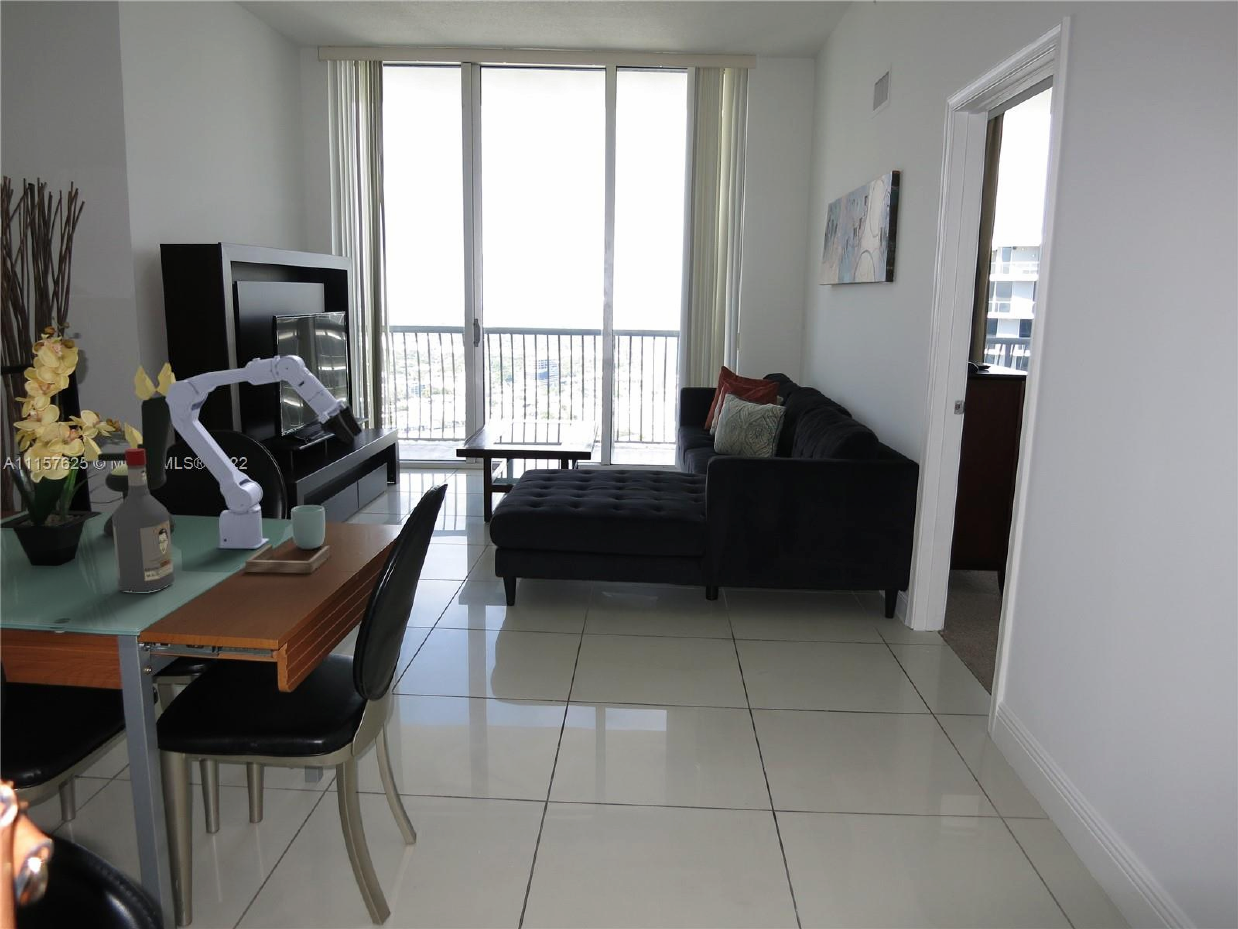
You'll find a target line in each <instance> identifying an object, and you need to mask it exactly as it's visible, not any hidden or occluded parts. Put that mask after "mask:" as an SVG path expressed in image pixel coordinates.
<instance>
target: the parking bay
mask: <svg viewBox="0 0 1238 929" xmlns="http://www.w3.org/2000/svg"><path fill="white" fill-rule="evenodd" d="M330 555H331V545H325V546H324V547H323V548H322V549H321V550H319V551H318V552H317V553H316V554H315V555H314V556H312V557H311V558H310V559H309V560H269V559H270V557H272V556H274V548H273V544H267V545H266V546H264V547H263V548H262V549H261V550H259V551H258V552H256V553H255V554H253V555H252V556H251V557H249V558H248V559H246V560H245V561H244V563H245V565H244V567H245V572H246V573H282V574H283V573H288V574H289V573H290V574H291V573H293V574H313V572H314V571H316V570H317V569H318V568H319V567H320V566H321V565H323V564H324V562H325V561H327V560H328V559H329V558H330V557H331V556H330ZM329 556H330V557H329ZM327 558H328V559H327ZM316 568H317V569H316ZM315 569H316V570H315Z"/></svg>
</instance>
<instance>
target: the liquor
mask: <svg viewBox="0 0 1238 929" xmlns="http://www.w3.org/2000/svg"><path fill="white" fill-rule="evenodd" d="M124 452H125V456H126V461H125V464H126V465H127V470H128V483H129V490H128V496H127V497H126V498H125V497H124V499H123V501H122V502H121V503H120V504H119V506H118V507H117V508H116V509H115V510H114V511H113V513H112V514H113V516H112V523H113V533H114V538H113V541H114V553H115V554H114V556H115V564H116V574H117V586H118V587H119V589H120V590H121V592H123V591H129V592H130V591H132V592H149V591H154V590H159V589H162V588H164V587H165V586H167V585H169V584H171V583H172V582H174V578H175V576H174V565H173V552H172V550H173V549H172V542H171V541H172V540H171V531H170V525H169V513H170V512H169V511H168V509H167V507H165V506H164V505H163V504H162V503H160V501H158V500H157V499H156V498H155V497H154V496H152V494H151V490H150V491H149V489H148V486H147V476H146V466H145V464H146V456H145V449H131V448H129V449H126V450H124ZM168 512H169V513H168ZM172 584H173V583H172ZM172 584H171V585H172ZM164 589H165V588H164ZM162 590H163V589H162Z"/></svg>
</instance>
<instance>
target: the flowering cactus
mask: <svg viewBox="0 0 1238 929" xmlns="http://www.w3.org/2000/svg"><path fill="white" fill-rule="evenodd" d="M157 379H158V383H159V386H157V388H155V386H154V384H153V382H152V380H151V379H150V377H149V376H148V374H146V372H145V370H144V368H143V366H142V364H140V365H139V367H138V369H137V371H136V374H135V376H134V378H133V383H134V385H135V390H134V391H133V393H134V394H135V395H136V396H137V397H138V398H140V399H142V400H143V401H142V402H141V407H140V408H141V433H142V435H141V433H140V432H139V431H138V430H136V429H135V428H134V427H133V426H132V427H131V425H129V423H127V422H126V421H124V436H125V439H126V441H128V443H129V445H130V449H145V456H146V464H145V466H146V476H147V486H148V489H149V491H150V492H151V491H153V490H156V489H159V488H160V487H162V486H164V485H165V483H166V482H167V474H166V463H167V453H168V445H169V439H170V432H171V425H172V420H171V414H170V409H169V405H168V403H167V402H166V396H167V392H168V389H169V387H170V386H171V385H172V384H173V383H174V382H177V380H176V377H175V374H174V372H172V366H171V364H170V362H165V364H164V365H163V367H162V369H161V371H160V372H159V374H158V376H157ZM156 391H157V392H159V393H160V394H161V395H162V396H157V397H156V396H155V395H154V394H155V393H156ZM154 396H155V397H154ZM83 442H84V445H85V452H84V453H83V457H84V459H83V461H84V462H93V461H94V462H95V461H101V462H115V461H116V462H126V456H125V451H124V452H122V451H120V452H118V451H117V452H102V451H101V449H100V448H99V446H98V445H97V443H96V442H95V441H94V440H93V439H91V437H89V438H87V437H85V438H84V439H83ZM104 483H105V485H106V487H107V488H108V490H109V489H110V490H111V491H114V492H118V493H124V499H125V498H126V497H127V496H128V490H129V483H128V470H127V465H126V463H123V464H120V465H118V466H117V467H115V468H113V470H112V471H110V472H109V473H108V474H107V475H106V477H105V481H104ZM168 513H169V525H170V532H171V531H173V530H174V528H175V527H176V526H177V522H176V519H175V517H174V516H173V515H172V514H171V513H170V512H169V511H168ZM112 516H113V513H112V514H111V515H110V516H109V517H108V518H107V519H106V521H105V523H104V524H103V529H102V530H103V531H102V532H103V533H104V534H105V535H106V536H108V537H109V538H113V539H114V533H113V523H112Z"/></svg>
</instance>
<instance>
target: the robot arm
mask: <svg viewBox="0 0 1238 929" xmlns="http://www.w3.org/2000/svg"><path fill="white" fill-rule="evenodd" d="M280 381H286V382H288V383H289V385H291V387H292V388H293V390H295V391H296V393H297V394H298V395H299V396H300V397H301V398H302V399H303V400H304V401H305V402H306V403H307V405H308V406H309V407H310V408H311V409H312V410H313V411H314V412H315V413H316V414H317V415H318V417H317V419H318V420H319V421H320V423H322V425H321V426H320V429H321V430H322V431H326V432H328V433H330V434H332V435H335V437H337V438H339V439H340V440H341V441H343V442H344V443H346V444H349V443H350V442H351V441H353V440H354V439H355V437H358V436H359V435H360V434H361V433H362V432H363V430H362V428H361V426H360V424H359V422H358V420H357V419H356V417H355V414H354V412H353V408H352V406H351V405H350V404H349V405H344V404H343V402H344V400H343V398H340V399H339V400H337V399H336V397H334V396H333V395H332V393H331V392H330V391H329V390H328V389H327V388H326V387H325V386H324V385H323V383H322V382H321V381H320V380H319V379H318V378H317V377H316V376H315V375H314V374H313V373H312V372H311V371H310V370H309V369H308V368H307V367H306V364H305V361H304V360H303V358H301V357H300V356H298V355H292V354H287V355H286V356H283V357H281V356H280V355H275V356H274V357H273V358H272V357H271V358H266V359H261V358H260V357H258V358H253V359H252V361H249V362H247V364H246V365H245V367H243V368H236V369H235V368H234V369H227V370H221V371H220V370H219V371H213V372H212V371H211V372H210V371H209V372H206V373H202V374H199V375H195V376H193V377H188V378H186V379H184V380H178V381H177V380H176V382H174V383H173V384H172V385H171V386H170V387H169V389H168V392H167V396H166V402H167V403H168V405H169V409H170V414H171V420H172V421H171V425H172V426H173V428H174V429H175V430H176V431H177V432H178V434H179V435H180V436H181V437H182V439H183V440H184V441H185V442H186V443H187V445H188V446H189V447H190V448H191V449H192V451H193V452H194V453H195V454H196V456H197V457H198V458H199V459H200V461H201V462H202V463H203V465H204V466H205V467H206V468H207V470H208V471H209V472H210V473H211V474H212V476H214V478H215V479H216V481H217V482H218V483H219V487H220V488H219V489H220V493H221V495H222V496H223V497H224V500H225V505H226V506H227V508H228V509H226V510H222V512H221V513H220V515H219V520H218V529H219V530H218V531H219V541H220V542H219V545H218V547H219V549H244V550H245V549H246V550H247V549H249V550H250V549H251V550H253V549H254V550H257V549H259V548H260V547H262V546H264V544H266V543H267V542H269V540H270V539H269V538H265V537H264V536H263V525H262V524H263V522H262V510H261V509H262V507H261V505H260V504H259V503H260V501H261V500H262V498H263V495H264V494H263V493H264V492H263V489H262V487H261V486H260V484H259V483H258V482H257V481H254V480H252V479H251V478H249V476H248V475H247V474H245V473H244V472H242V471H240V470H239V469H238V468H237V467H236V466H235V464H234V463H233V462H232V461H231V460H230V458H229V456H227V454H226V453H225V452H224V451H223V450H222V448H221V447H220V446H219V444H218V443H217V442H216V440H215V439H214V438H213V437H212V436H211V434H210V433H209V432H208V431H207V430H206V428H205V426H203V425H202V423H201V422H200V421H199V415H200V410H201V408H202V406H203V404H204V403H205V402H206V400H207V397H208V395H209V393H211V392H213V391H214V390H215V389H216V388H217V387H218V386H224V385H230V384H235V383H241V382H248V383H250V384H251V385H253V386H258V385H264V384H270V383H278V382H280ZM263 537H264V538H263Z"/></svg>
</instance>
